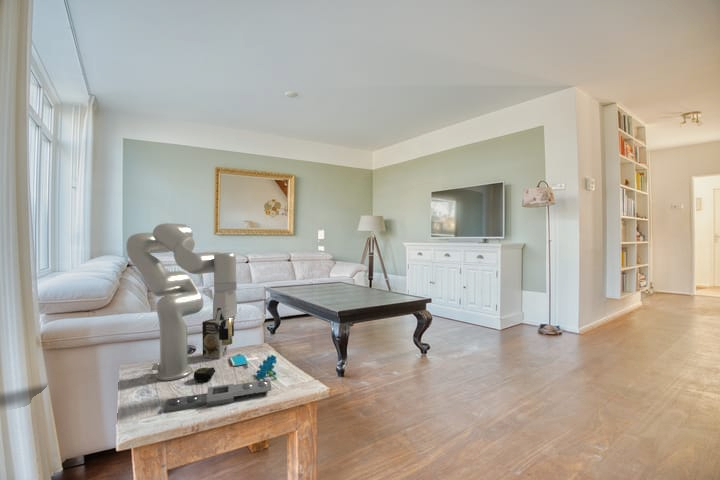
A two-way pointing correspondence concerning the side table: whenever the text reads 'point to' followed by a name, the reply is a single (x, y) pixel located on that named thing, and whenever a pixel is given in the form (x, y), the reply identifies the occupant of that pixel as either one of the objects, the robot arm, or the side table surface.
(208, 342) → the coffee box
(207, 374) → the tape measure
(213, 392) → the gray studded rail
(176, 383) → the side table surface
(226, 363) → the side table surface
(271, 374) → the gear
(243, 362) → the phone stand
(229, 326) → the pin
